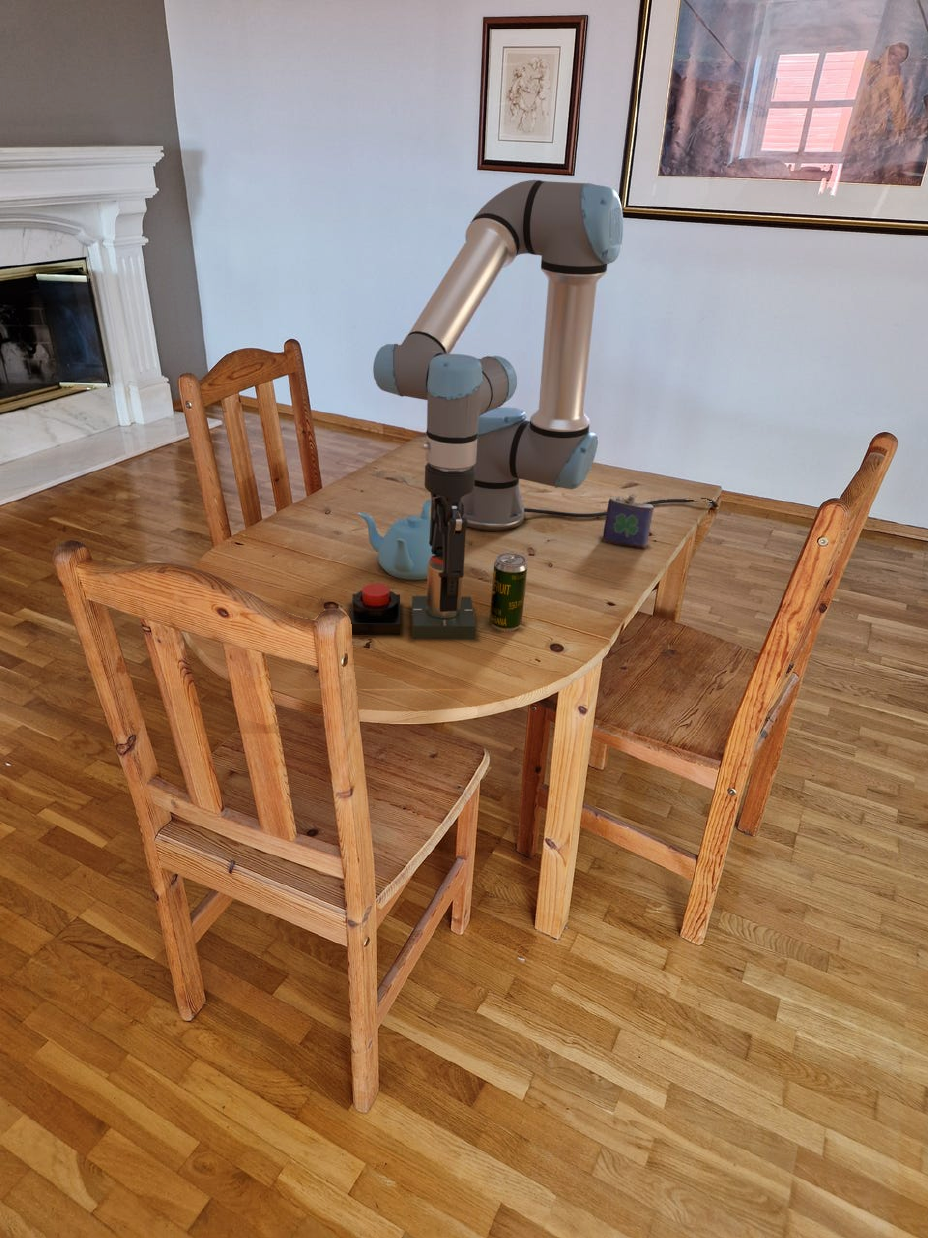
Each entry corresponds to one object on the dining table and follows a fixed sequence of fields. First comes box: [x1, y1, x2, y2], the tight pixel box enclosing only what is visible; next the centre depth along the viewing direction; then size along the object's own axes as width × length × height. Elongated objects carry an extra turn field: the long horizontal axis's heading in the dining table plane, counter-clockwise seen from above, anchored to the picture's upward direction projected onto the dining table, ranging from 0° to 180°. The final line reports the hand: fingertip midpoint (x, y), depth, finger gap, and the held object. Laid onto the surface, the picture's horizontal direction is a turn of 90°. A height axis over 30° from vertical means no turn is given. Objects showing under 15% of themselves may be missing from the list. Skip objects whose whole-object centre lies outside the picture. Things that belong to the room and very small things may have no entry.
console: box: [411, 595, 477, 640], centre depth 134 cm, size 10×10×3 cm
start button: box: [361, 583, 391, 606], centre depth 132 cm, size 4×4×2 cm
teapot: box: [358, 499, 434, 581], centre depth 149 cm, size 15×15×10 cm
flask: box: [602, 493, 655, 549], centre depth 165 cm, size 9×3×11 cm, turn 68°
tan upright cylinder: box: [426, 556, 463, 619], centre depth 131 cm, size 6×6×9 cm
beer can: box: [489, 552, 528, 632], centre depth 132 cm, size 5×5×12 cm
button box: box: [349, 590, 402, 636], centre depth 133 cm, size 8×10×4 cm
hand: (443, 600), depth 132 cm, fingers closed on tan upright cylinder, 6 cm apart
